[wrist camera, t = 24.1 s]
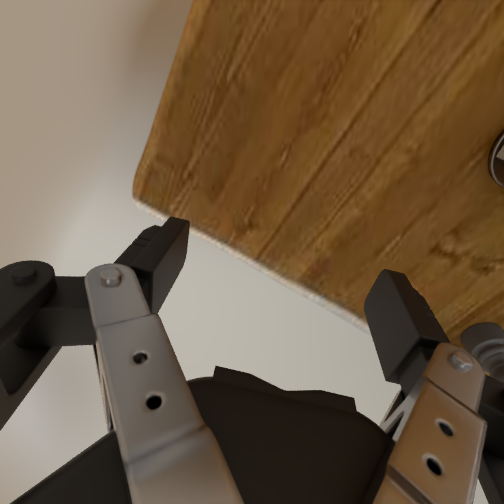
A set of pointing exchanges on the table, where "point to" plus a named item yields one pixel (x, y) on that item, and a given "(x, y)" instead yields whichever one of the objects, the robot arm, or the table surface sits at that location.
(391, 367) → the robot arm
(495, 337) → the candle holder
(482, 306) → the table surface
